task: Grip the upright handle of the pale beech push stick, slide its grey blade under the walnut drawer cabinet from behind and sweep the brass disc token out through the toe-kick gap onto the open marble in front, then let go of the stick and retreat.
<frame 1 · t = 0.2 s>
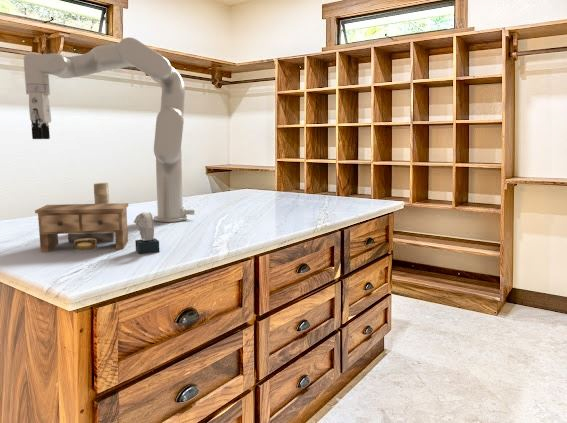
hand: (41, 139, 171), 31 cm above the table, tool pointing down, fingers open, 9 cm apart
cabinet: (86, 246, 139), on the table
brass token: (85, 248, 138), on the table
watch: (147, 252, 133), on the table
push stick: (103, 229, 165), on the table
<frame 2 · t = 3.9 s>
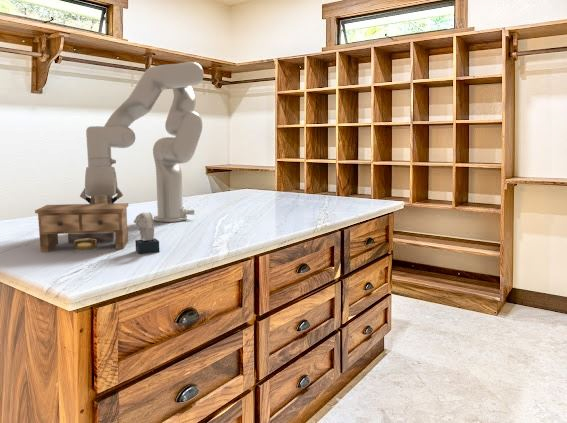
hand: (102, 215, 164), 5 cm above the table, tool pointing down, fingers closed on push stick, 4 cm apart
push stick: (103, 229, 165), on the table, touching gripper
everything else where it was.
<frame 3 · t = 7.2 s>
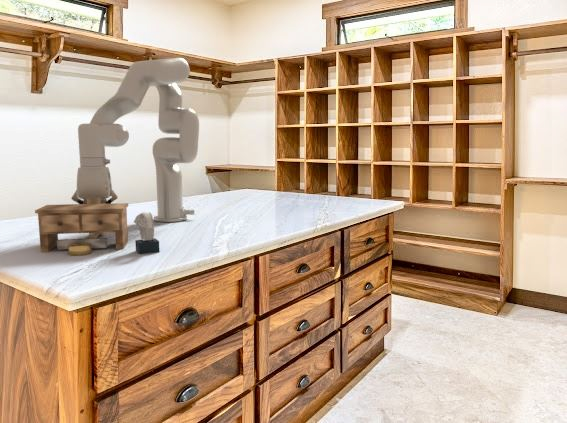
hand: (96, 219, 153), 5 cm above the table, tool pointing down, fingers closed on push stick, 4 cm apart
brass token: (80, 253, 131), on the table
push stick: (97, 234, 154), point 1 cm above the table, touching gripper
everything else where it was.
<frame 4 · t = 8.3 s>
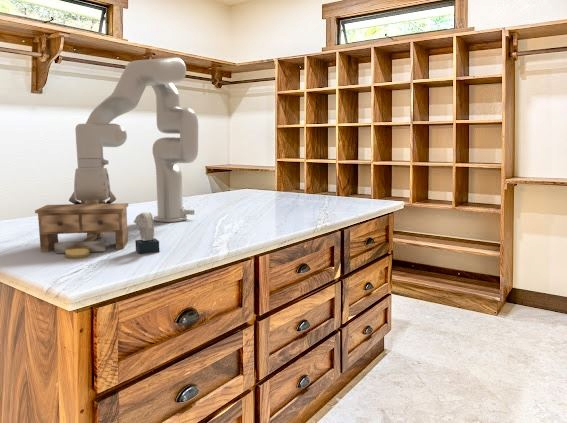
hand: (94, 221, 150), 5 cm above the table, tool pointing down, fingers closed on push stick, 4 cm apart
brass token: (77, 256, 128), on the table
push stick: (95, 236, 151), on the table, touching gripper
everything else where it was.
when the fingers open (5 cm above the table, at t = 9.8 s): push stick stays where it is, on the table.
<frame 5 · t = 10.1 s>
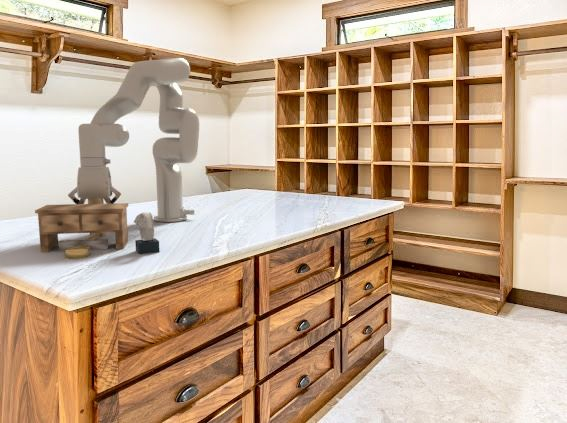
hand: (96, 217, 153), 6 cm above the table, tool pointing down, fingers open, 7 cm apart
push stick: (97, 235, 155), on the table
everything else where it was.
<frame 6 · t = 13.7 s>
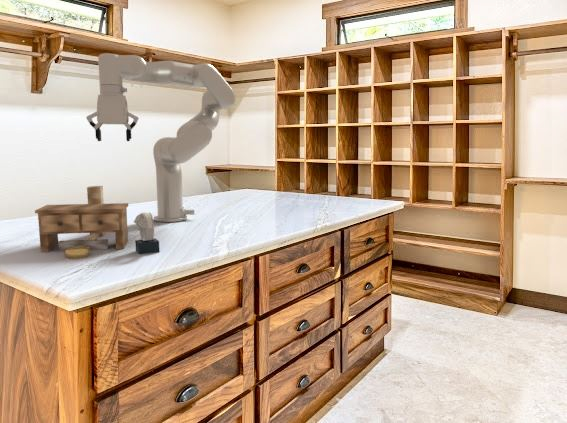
hand: (113, 141, 167), 30 cm above the table, tool pointing down, fingers open, 9 cm apart
nothing on the table moved.
at the end: brass token inside the target area (4.9 cm from its centre), on the table; brass token touching table; the gripper is holding nothing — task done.
